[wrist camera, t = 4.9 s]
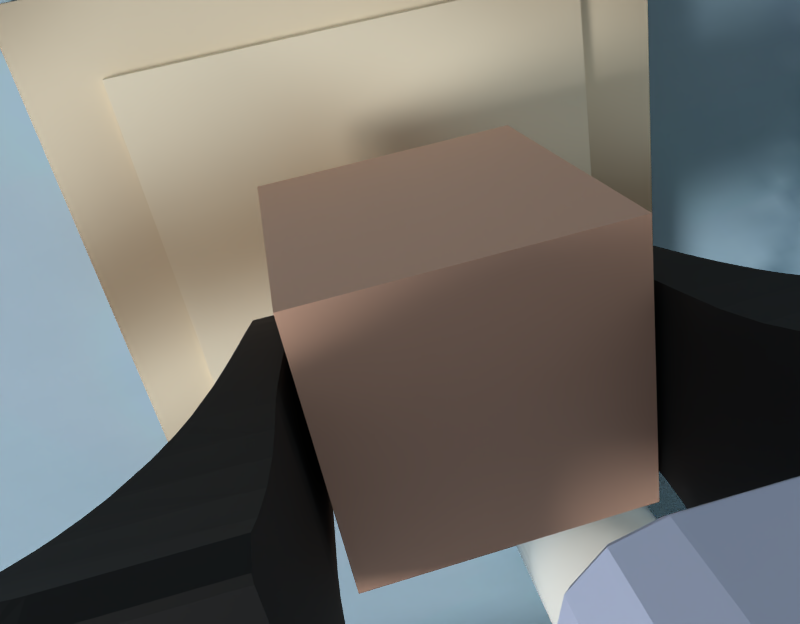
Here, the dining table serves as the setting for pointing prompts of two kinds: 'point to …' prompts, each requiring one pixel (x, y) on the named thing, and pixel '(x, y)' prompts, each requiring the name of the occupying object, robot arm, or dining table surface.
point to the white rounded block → (574, 554)
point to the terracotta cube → (466, 347)
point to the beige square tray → (290, 130)
